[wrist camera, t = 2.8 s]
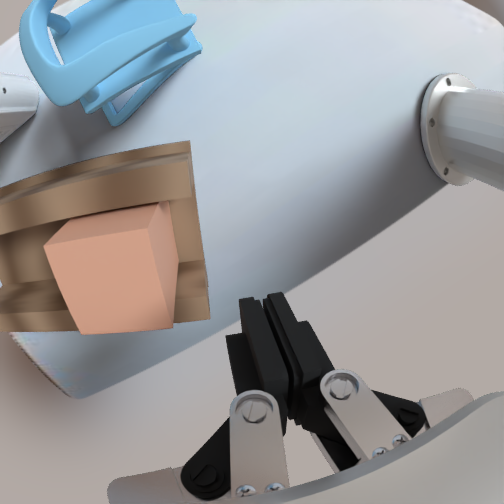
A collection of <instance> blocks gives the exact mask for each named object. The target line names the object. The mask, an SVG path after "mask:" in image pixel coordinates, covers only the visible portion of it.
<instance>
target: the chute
mask: <svg viewBox="0 0 504 504" xmlns="http://www.w3.org/2000/svg"><path fill="white" fill-rule="evenodd" d="M166 200H168V201H169V207H170V214H171V220H172V225H173V231H174V237H175V242H176V248H177V253H178V258H179V263H178V273H177V283H176V294H175V306H174V320H173V323H182V322H190V321H199V320H207V319H210V308H209V296H208V279H207V272H206V266H205V259H204V252H203V246H202V239H201V231H200V224H199V216H198V209H197V201H196V192H195V184H194V175H193V166H192V156H191V146H190V141H182V142H175V143H169V144H162V145H156V146H150V147H145V148H139V149H134V150H129V151H124V152H119V153H115V154H110V155H106V156H101V157H97V158H93V159H89V160H85V161H81V162H78V163H74V164H70V165H67V166H63V167H60V168H56V169H53V170H50V171H47V172H44V173H40V174H37V175H34V176H32V177H29V178H26V179H23V180H20V181H17V182H15V183H12V184H9V185H7V186H4V187H2V188H0V280H1V282H2V287H1V288H0V332H52V331H79V329H78V327H77V325H76V323H75V321H74V319H73V317H72V315H71V313H70V311H69V309H68V307H67V304H66V302H65V300H64V298H63V296H62V293H61V291H60V289H59V286H58V284H57V281H56V279H55V276H54V274H53V271H52V269H51V266H50V263H49V261H48V258H47V255H46V252H45V250H44V247H43V246H44V245H45V244H46V243H47V242H48V241H49V240H50V239H51V238H52V236H53V235H54V234H55V233H57V232H58V231H59V230H60V229H61V228H62V227H63V226H64V225H65V224H66V223H67V222H68V221H69V220H70V219H71V218H72V217H76V216H81V215H86V214H91V213H96V212H101V211H106V210H111V209H117V208H123V207H128V206H134V205H140V204H147V203H153V202H159V201H166Z"/></svg>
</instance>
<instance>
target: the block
mask: <svg viewBox="0 0 504 504" xmlns="http://www.w3.org/2000/svg"><path fill="white" fill-rule="evenodd" d="M43 247H44V250H45V252H46V255H47V258H48V261H49V263H50V266H51V269H52V271H53V274H54V276H55V279H56V281H57V284H58V286H59V289H60V291H61V293H62V296H63V298H64V300H65V302H66V304H67V307H68V309H69V311H70V313H71V315H72V317H73V319H74V321H75V323H76V325H77V327H78V329H79V331H80V333H81V335H87V334H107V333H122V332H136V331H148V330H159V329H169V328H173V320H174V306H175V294H176V283H177V273H178V263H179V258H178V253H177V248H176V242H175V237H174V231H173V225H172V220H171V214H170V207H169V201H168V200H166V201H159V202H153V203H147V204H140V205H134V206H128V207H123V208H117V209H111V210H106V211H101V212H96V213H91V214H86V215H81V216H76V217H72V218H71V219H70V220H69V221H68V222H67V223H66V224H65V225H64V226H63V227H62V228H61V229H60V230H59V231H58V232H57V233H55V234H54V235H53V236H52V238H51V239H50V240H49V241H48V242H47V243H46V244H45V245H44V246H43Z"/></svg>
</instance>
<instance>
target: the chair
mask: <svg viewBox="0 0 504 504" xmlns="http://www.w3.org/2000/svg"><path fill="white" fill-rule="evenodd" d="M56 2H57V0H33V1H32V2H31V4H30V5H29V6H28V8H27V9H26V10H25V12H24V13H23V15H22V17H21V20H20V27H19V38H20V45H21V50H22V53H23V56H24V58H25V61H26V63H27V65H28V67H29V69H30V71H31V73H32V74H33V76H34V78H35V79H36V81H37V82H38V84H39V86H40V87H41V89H42V90H43V91H44V93H45V94H46V96H47V97H48V98H49V99H50V101H52V102H53V103H54V104H55V105H57V106H67V105H69V104H72V103H74V102H75V101H77V100H78V99H79V100H80V102H81V104H82V106H83V108H84V111H85V113H86V114H92V113H94V112H95V111H96V110H98V109H99V108H101V107H102V109H103V111H104V113H105V115H106V117H107V119H108V121H109V123H110V124H111V125H112V126H118V125H121V124H122V123H123V122H125V121H126V120H127V119H128V118H129V117H130V116H131V115H132V114H133V113H134V112H135V111H136V110H137V109H138V108H139V107H140V106H141V104H142V103H143V102H144V101H145V100H146V99H147V98H148V97H149V96H150V95H151V94H152V93H153V92H154V91H155V90H156V89H157V88H158V87H159V86H160V85H161V84H162V83H163V82H164V81H165V80H166V79H167V78H168V77H170V76H171V75H172V74H173V73H174V72H175V71H176V70H177V69H178V68H180V67H181V66H182V65H183V64H185V63H186V62H187V61H189V60H190V59H192V58H193V57H194V56H196V55H198V54H201V51H202V49H203V48H202V45H201V44H200V42H197V40H196V38H195V36H194V35H193V33H192V31H191V27H192V26H193V25H194V23H195V22H196V20H197V17H196V15H194V14H184V15H183V14H182V13H181V11H180V9H179V7H178V5H177V3H176V2H175V0H91V1H89V2H87V3H86V4H84V5H82V6H81V7H79V8H77V9H76V10H74V11H73V12H71V13H70V14H68V15H67V16H65V17H63V16H61V15H57V14H54V13H50V11H51V10H52V8H53V6H54V4H55V3H56ZM47 26H48V27H50V30H51V33H52V36H53V39H54V41H55V44H56V46H57V48H58V51H59V53H60V55H61V57H62V60H63V62H64V64H65V65H61V64H60V62H59V60H58V59H57V57H56V55H55V52H54V50H53V48H52V45H51V42H50V39H49V35H48V31H47ZM145 80H147V81H146V82H145V83H144V84H143V85H142V86H141V87H140V88H139V89H138V90H137V92H136V93H135V94H134V95H133V96H132V97H131V99H130V100H129V101H128V102H127V103H126V104H125V106H124V107H123V108H122V109H121V110H120V112H119V113H116V111H115V109H114V107H113V105H112V103H111V100H113V99H114V98H116V97H117V96H119V95H120V94H122V93H124V92H125V91H127V90H128V89H130V88H132V87H134V86H136V85H137V84H139V83H141V82H143V81H145Z"/></svg>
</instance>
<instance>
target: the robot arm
mask: <svg viewBox="0 0 504 504" xmlns="http://www.w3.org/2000/svg"><path fill="white" fill-rule="evenodd" d="M420 124H421V136H422V142H423V147H424V150H425V154H426V157H427V159H428V161H429V164H430V166H431V167H432V169H433V170H434V172H435V173H436V174H437V175H438V176H439V177H440V178H441V179H442V180H444V181H446V182H447V183H450V184H453V185H459V186H462V185H465V184H468V183H469V182H471V181H472V180H473V179H477V180H479V181H482V182H484V183H486V184H489V185H491V186H493V187H495V188H497V189H500V190H502V191H504V92H499V91H492V90H484V89H477V88H476V86H475V85H474V84H473V83H472V82H471V81H470V80H469V79H468V78H466V77H465V76H463V75H460V74H457V73H445V74H441V75H439V76H437V77H436V78H435V79H434V80H433V81H432V82H431V83H430V85H429V87H428V88H427V90H426V93H425V96H424V99H423V103H422V109H421V123H420ZM239 307H240V317H241V326H242V333H238V334H232V335H226V343H227V349H228V354H229V360H230V365H231V370H232V375H233V379H234V384H235V389H236V393H237V397H236V398H234V400H233V401H232V403H231V406H230V417H229V418H228V419H227V420H226V421H225V422H224V424H223V425H222V426H221V427H220V428H219V429H218V430H217V431H216V432H215V433H214V435H213V436H212V437H211V438H210V439H209V440H208V441H207V442H206V443H205V444H204V445H203V446H202V447H201V448H200V449H199V451H198V452H196V454H195V455H194V456H193V457H192V458H191V459H190V460H189V461H188V462H187V463H186V464H185V465H184V466H182V467H178V468H175V469H172V468H166V469H162V470H158V471H154V472H148V473H143V474H138V475H133V476H127V477H121V478H117V479H115V480H113V481H112V482H111V483H110V484H109V486H108V489H107V494H108V499H109V503H110V504H504V392H495V393H490V394H487V395H484V396H482V397H480V398H478V399H476V400H473V398H472V396H471V394H470V393H469V392H468V391H467V390H465V389H461V388H458V389H454V390H451V391H448V392H445V393H441V394H438V395H434V396H431V397H427V398H424V399H420V400H419V402H416V403H415V402H413V401H409V400H406V399H402V398H398V397H395V396H391V395H388V394H384V393H381V392H377V391H374V390H371V389H370V388H369V387H368V386H367V385H366V383H365V382H364V381H363V380H362V379H361V378H360V377H359V376H358V375H357V374H356V373H354V372H352V371H350V370H345V369H337V370H335V369H334V367H333V365H332V363H331V361H330V360H329V358H328V356H327V354H326V352H325V351H324V349H323V347H322V345H321V343H320V342H319V340H318V338H317V336H316V334H315V332H314V331H313V329H312V327H311V325H310V324H309V322H307V321H302V322H298V321H297V320H296V318H295V316H294V314H293V312H292V310H291V308H290V306H289V304H288V302H287V300H286V298H285V297H284V294H283V293H282V292H278V293H272V294H268V295H267V298H265V299H263V308H262V305H261V303H260V300H254V297H249V298H242V299H239ZM287 416H288V419H289V420H291V419H294V421H295V424H296V425H302V428H303V429H305V430H307V431H310V434H311V436H312V438H313V439H314V441H315V443H316V444H317V446H318V447H319V449H320V451H321V452H322V454H323V455H324V457H325V459H326V460H327V462H328V463H329V464H330V466H331V468H332V469H333V471H334V473H335V474H333V475H330V476H327V477H324V478H321V479H318V480H315V481H311V482H308V483H305V484H302V485H298V486H294V487H289V479H288V473H287V465H286V457H285V450H284V443H283V436H284V435H285V433H286V424H287Z"/></svg>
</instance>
